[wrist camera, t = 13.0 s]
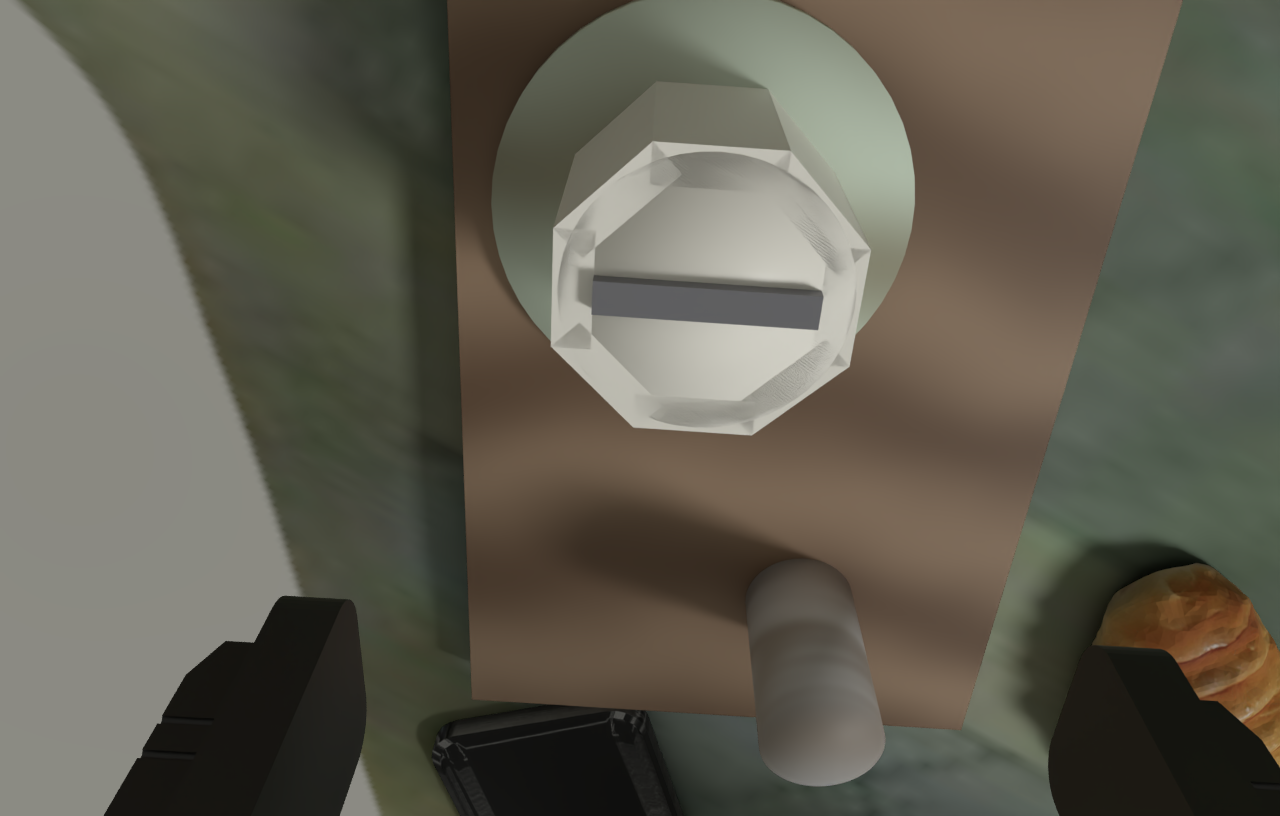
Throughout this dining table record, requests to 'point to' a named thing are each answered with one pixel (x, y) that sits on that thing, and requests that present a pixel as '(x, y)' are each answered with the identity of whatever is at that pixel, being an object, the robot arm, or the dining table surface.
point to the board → (830, 416)
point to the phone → (555, 764)
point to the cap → (705, 262)
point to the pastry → (1204, 641)
